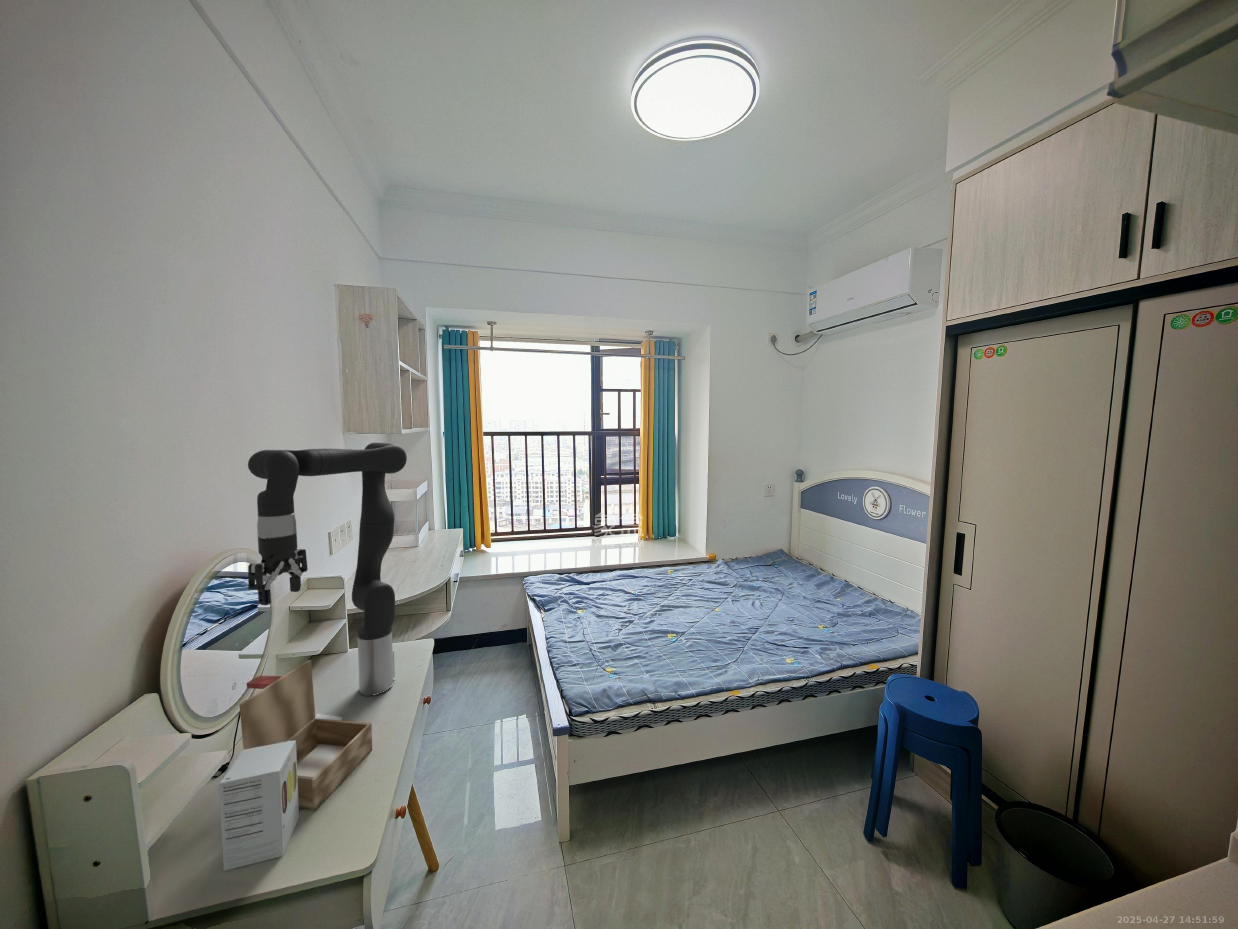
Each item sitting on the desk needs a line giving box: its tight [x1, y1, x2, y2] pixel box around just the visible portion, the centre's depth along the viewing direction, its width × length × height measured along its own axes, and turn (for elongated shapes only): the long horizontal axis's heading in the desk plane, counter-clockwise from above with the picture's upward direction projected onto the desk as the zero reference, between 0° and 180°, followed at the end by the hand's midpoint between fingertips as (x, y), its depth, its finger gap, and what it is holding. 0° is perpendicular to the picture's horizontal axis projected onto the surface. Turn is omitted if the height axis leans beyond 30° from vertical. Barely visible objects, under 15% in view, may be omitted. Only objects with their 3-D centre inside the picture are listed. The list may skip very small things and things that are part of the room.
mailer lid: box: [238, 659, 316, 750], centre depth 103 cm, size 18×15×7 cm
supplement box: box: [218, 740, 300, 871], centre depth 86 cm, size 10×9×17 cm
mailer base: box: [288, 718, 373, 812], centre depth 103 cm, size 18×15×7 cm
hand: (280, 597), depth 110 cm, fingers open, 8 cm apart
